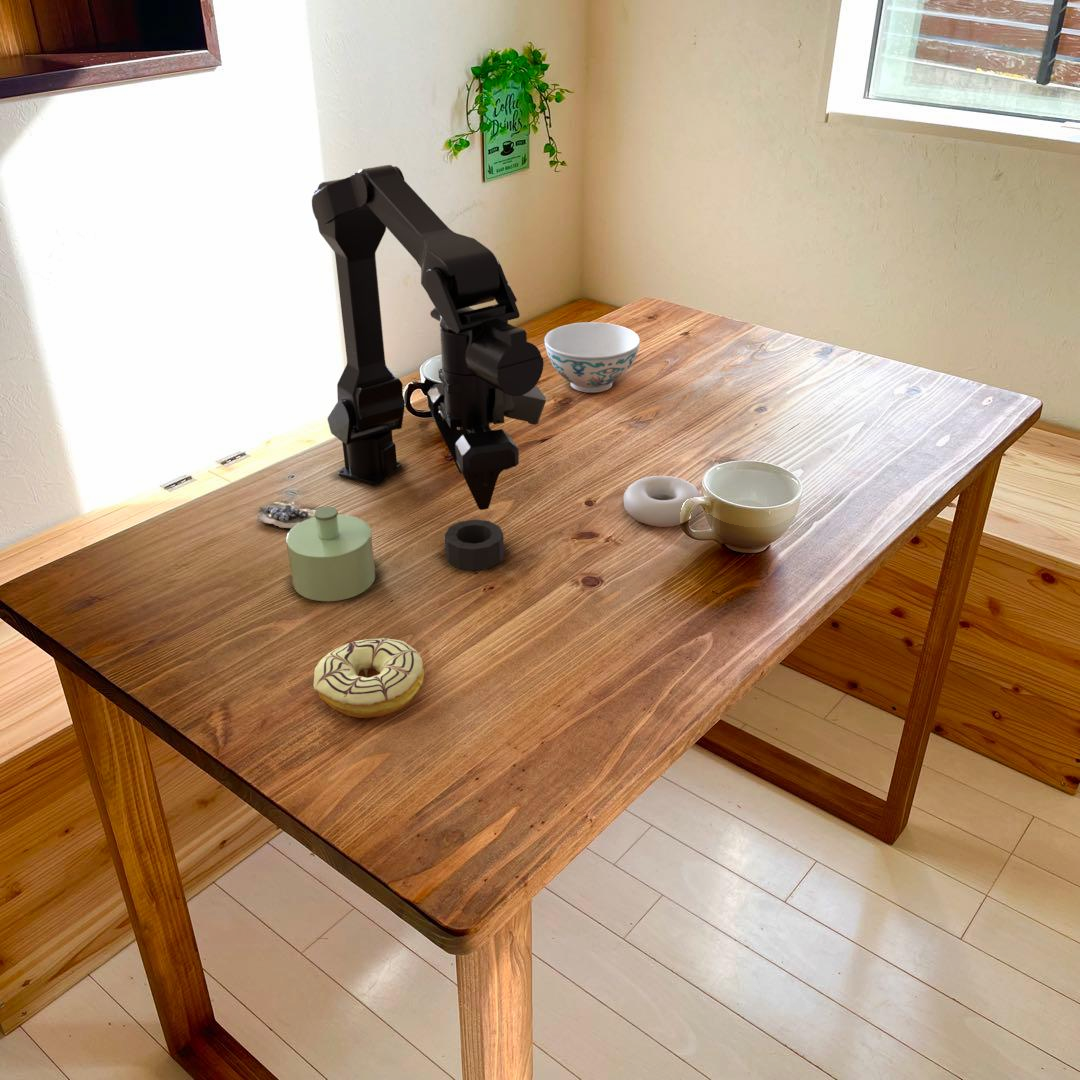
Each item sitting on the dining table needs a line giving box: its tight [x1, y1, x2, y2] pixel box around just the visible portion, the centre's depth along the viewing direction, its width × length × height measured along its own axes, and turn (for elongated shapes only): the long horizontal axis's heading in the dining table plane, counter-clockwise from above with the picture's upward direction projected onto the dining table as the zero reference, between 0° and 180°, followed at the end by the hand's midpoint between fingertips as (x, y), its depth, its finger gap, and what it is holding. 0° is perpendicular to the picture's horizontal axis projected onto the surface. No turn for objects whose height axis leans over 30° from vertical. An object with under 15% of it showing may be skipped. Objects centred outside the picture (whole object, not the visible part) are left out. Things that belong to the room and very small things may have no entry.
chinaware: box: [543, 321, 641, 393], centre depth 175 cm, size 15×15×8 cm
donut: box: [622, 475, 702, 528], centre depth 141 cm, size 10×4×10 cm
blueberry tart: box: [256, 500, 316, 530], centre depth 141 cm, size 7×8×2 cm
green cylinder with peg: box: [285, 506, 376, 602], centre depth 127 cm, size 10×10×9 cm
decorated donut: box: [313, 637, 425, 719], centre depth 111 cm, size 10×11×4 cm
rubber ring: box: [444, 519, 505, 572], centre depth 133 cm, size 7×7×3 cm
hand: (473, 490), depth 129 cm, fingers open, 9 cm apart
